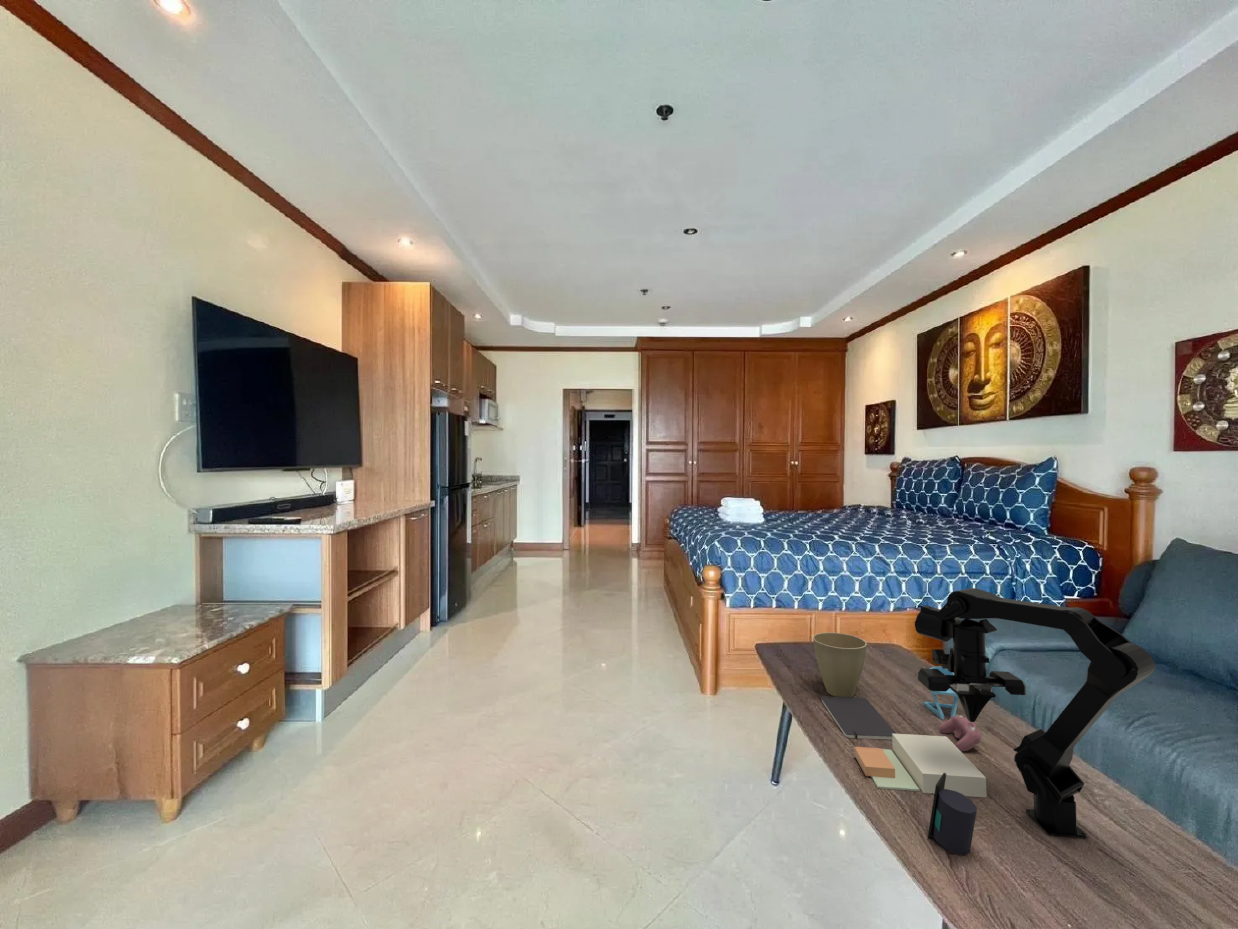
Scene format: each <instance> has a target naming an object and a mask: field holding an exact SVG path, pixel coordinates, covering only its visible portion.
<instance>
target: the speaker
mask: <svg viewBox="0 0 1238 929" xmlns="http://www.w3.org/2000/svg"><path fill="white" fill-rule="evenodd" d="M945 780H946V773H943V775H942V776H941V778H940V779H939V781H938V782H937V784H936V787H935V793H934V795H933V800H932V808H931V814H930V820H929V826H928V834H927V838H928V839H931V838H932V837H934V839H935V842H937V843H938V844H939V845H940V846H942V847H943V848H944V849H945V850H946V851H948V852H949V853H952V854H957V855H961V856H966V855H968V854H970V853H971V847H972V841H973V836H974V829H975V823H976V818H977V817H976V816H977V812H978V808H977V806H976V805H975V803H974V802H973V800H971V799H970V798H968V796H964V795H963V794H961V793H959V792H956V791H952V790H948V789H944V786H945Z"/></svg>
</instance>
